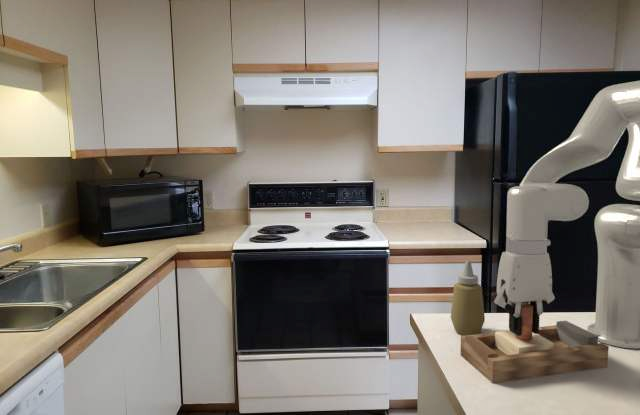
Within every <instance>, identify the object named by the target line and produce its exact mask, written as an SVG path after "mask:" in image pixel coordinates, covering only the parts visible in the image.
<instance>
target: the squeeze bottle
mask: <svg viewBox="0 0 640 415" xmlns="http://www.w3.org/2000/svg"><path fill="white" fill-rule="evenodd" d="M457 281H458V282H456V283H455V284H454V287H453V295H452V302H451V311H450V320H451V323H452V325H453V328H454V331H455V332H456V333H457V334H459V335H461V336H467V335H475V334H481V331H482V328H483V325H484V323H485V321H486V320H485V319H486V318H485V309H484V308H485V307H484V296H483V287H482V285H480V284H479V276H478V275H476V274H474V270H473V266H472V262H471V261H470V260H466V261H465V264H464V267H463V271H462V273H460V274H458V275H457Z"/></svg>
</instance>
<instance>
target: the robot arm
mask: <svg viewBox="0 0 640 415" xmlns="http://www.w3.org/2000/svg"><path fill="white" fill-rule="evenodd" d="M626 130H627V133H628V143H627V146H626V150H625V154H624V157H623V158H622V161H621V165H620V168H619V171H618V175H617V177H616V182H615V191H616V193H617V194H618V195H619V196H620V197H621V198H624V199H626V200H631V201H637V202H640V80H636V81H630V82H628V81H627V82H623V83H618V84H612V85H609V86H606V87H604V88H602V89H601V90H599V91H598V93H596V95H595V96H594V97H593V99H592V100H591V102H590V103H589V106H587V109H586V110H585V112H584V113H583V115H582V117H581V119H579V122H578V123H577V125H576V126H575V128H574V129H573V131H572V132H571V135H570V136H569V137H568V138H567V139H566V140H564V141H562V142H561V143H560V144H558V145H557V146H555V147H554V148H551V150H549V151H547V153H546V154H544V155H542V156H541V157H540V158H539V159H538V160H536V161H535V163H533V165H532V166H531V167H530V168H529V169H528V171H527V172H526V174H525V176H524V177H523V179H522V180H521V182H520V183H519V186H518V185H516V186H513V187H511V188H509V189H508V191H507V193H506V194H507V196H506V199H507V200H506V230H505V231H506V233H505V234H506V235H505V236H506V239H505V240H506V242H505V251H502V253H501V256H500V259H499V263H498V268H497V270H498V271H497V278H496V280H497V281H496V297H495V299H494V301H493V303H494V304H495V305H497V306H499V307H501V308H503V310H505V311H506V313H507V314H508V329H509V330H510V331H511V332H513V333H514V334H516V335H517V336H521V335H522V317H520V316H519V315H520V309H521V303H528V304H531V305H533V326H532V332H533V333H535V334H538V333H539V327H540V316H542V314H543V313H544V310H545V308H546V307H547V306H548V305H549V304H550V303H552V302H553V301H554V300H555V299H556V298H555V295H554V293H553V276H552V275H553V274H552V273H553V272H552V264H551V259H550V254H549V253H548V250H547V249H548V246H551V244H552V243H551V240H550V239H548V226H549V224H548V223H549V221H562V222H571V221H575V220H577V219H579V218H581V217H582V216H583V215H584V214H585V213H586V212H587V210H588V208H589V204H590V200H589V197H588V194H587V193H586V191H585V190H584V189H583V188H581V187H580V186H577V185H574V184H568V183H556V182H558V181H559V179H560V180H561V178H563V177H564V176H566V175H568V174H570V173H572V172H575V171H578V170H581V169H584V168H587V167H589V166H592V165H595V164H597V163H600V162H602V161H604V160H606V159H607V158H608V157H610V155H611V154H612V152H613V151H614V149H615V147H616V146H617V144H618V143H619V140H620V139H621V137H622V136H623V134H624V132H625V131H626ZM594 232H595V237H596V242H597V244H596V245H597V277H596V278H597V279H596V300H595V302H596V303H595V317H594V318H595V321H594V322H595V323H592V324H589V325H588V326H587V328H586V330H587V331H589V332H591V333H593V334H595V335H597V336H598V342H600V343H603V344H605V345H609V346H612V347H613V346H614V347H616V348H617V347H618V348H624V349H635V350H637V349H638V350H639V349H640V205H639V204H629V203H627V204H626V203H614V204H608V205H606V206H603V207H602V208H600V209H599V211H598V212H597V214H596V215H595V217H594ZM506 298H507V302H506ZM509 330H508V331H509Z"/></svg>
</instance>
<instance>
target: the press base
mask: <svg viewBox="0 0 640 415" xmlns="http://www.w3.org/2000/svg"><path fill="white" fill-rule="evenodd" d="M495 332H496V331H495ZM495 332H484V333H480V334H475V335H467V336H466V335H461V336H460V356H461V358H463V359H465V360H466V361H467V362H468V363H469V364H470V365H471V366H472V367H474V368H475V369H476V370H477V371H478V372H479V373H480V374H482V376H484V377H485V378H486V380H488V381H490V382H491V383H492V384H494V383H495V384H496V383H504V382H511V381H517V380H518V381H519V380H524V379H530V378H537V377H545V376H552V375H560V374H566V373H572V372H574V373H575V372H581V371H586V370H588V371H589V370H595V369H596V370H597V369H602V368H608V364H609V349H610V348H609V346H610V345H609V346H608V344H606V343H603V342H600V343H599V341H598V336H597V335H595V334H593V333H591V332H589V331H587V329H584V328H582V327H581V326H579V325H576V324H574V323H572V322H570V321H568V320H560V321H556V324H554V325H553V324H552V325H546V326H539V333H538V334H539V335H540V336H542V337H544V338H546V339H547V340H549V341H551V342H553V343H554V349H552V350H544V351H536V352H528V353H520V354H512V355H507V354H505V353H504V352H502V351H501V350H500V349H498V348H497V347H495Z"/></svg>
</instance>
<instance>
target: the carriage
mask: <svg viewBox="0 0 640 415" xmlns="http://www.w3.org/2000/svg"><path fill="white" fill-rule="evenodd" d="M519 316H520V317H522V335H521V336H517V335H516V334H514V333H513V332H511V331H510V330H502V331H495V347H497V348H498V349H500V350H501V351H502V352H504V353H505V354H507V355H512V354H520V353H528V352H536V351H544V350H552V349H554V343H553V342H551V341H549V340H547V339H546V338H544V337H542V336H540V335H539V334H535V333H533V332H532V326H533V305H531V304H528V302H522V303H521V309H520V315H519Z"/></svg>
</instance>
